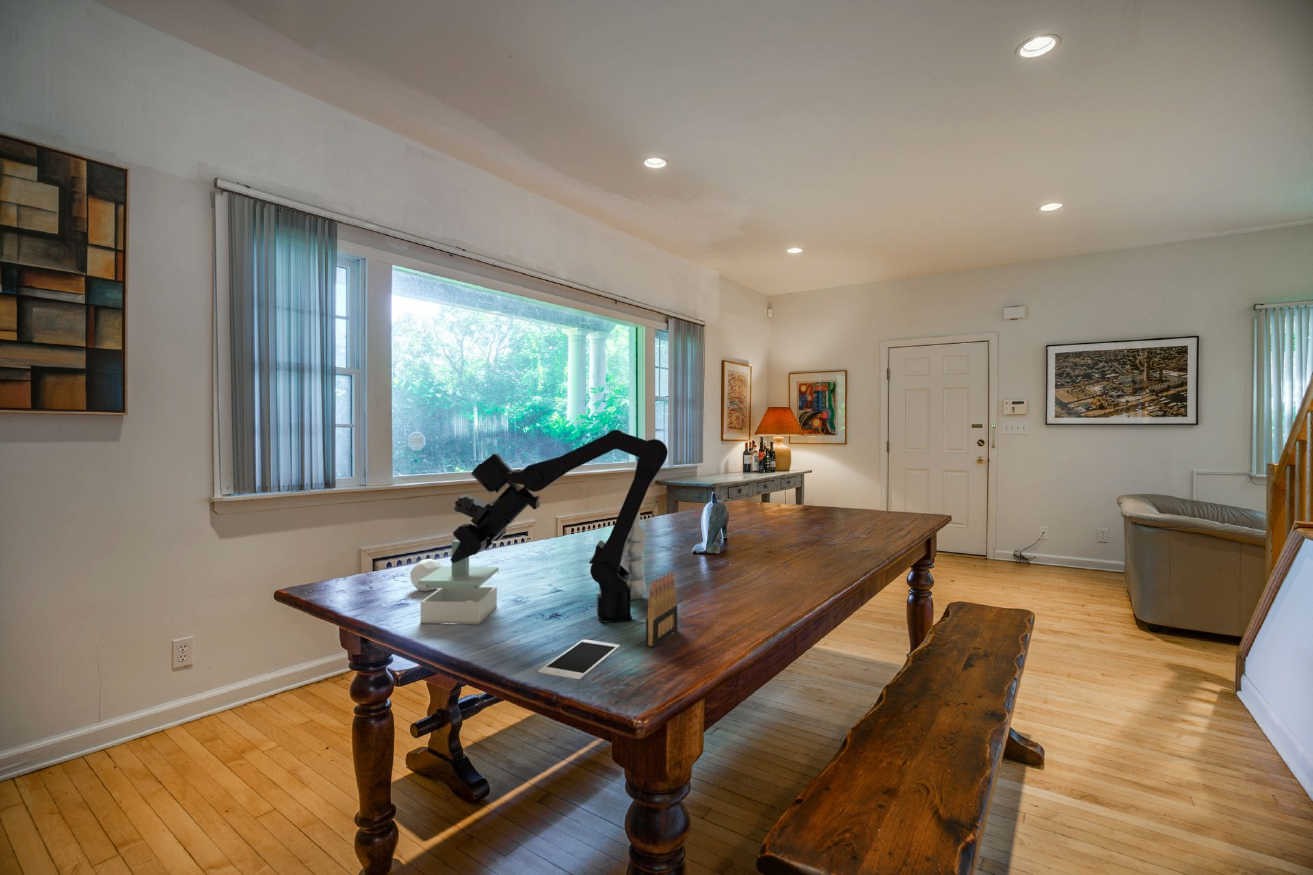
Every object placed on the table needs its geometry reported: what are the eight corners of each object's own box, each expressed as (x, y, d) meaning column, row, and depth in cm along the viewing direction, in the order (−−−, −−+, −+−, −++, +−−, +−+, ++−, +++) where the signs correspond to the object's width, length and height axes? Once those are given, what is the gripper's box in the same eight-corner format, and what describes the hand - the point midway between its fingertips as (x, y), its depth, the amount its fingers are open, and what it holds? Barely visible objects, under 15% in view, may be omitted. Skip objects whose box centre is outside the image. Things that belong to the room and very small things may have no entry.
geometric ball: (435, 599, 146) (456, 572, 147) (417, 596, 139) (439, 568, 140) (416, 581, 149) (437, 555, 150) (397, 577, 141) (418, 549, 143)
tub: (496, 607, 131) (496, 586, 131) (479, 624, 119) (479, 602, 119) (443, 606, 131) (443, 586, 131) (420, 623, 119) (420, 601, 119)
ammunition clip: (654, 648, 107) (654, 582, 107) (645, 646, 108) (645, 581, 108) (677, 630, 117) (678, 570, 116) (669, 629, 117) (669, 569, 117)
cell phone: (536, 675, 96) (536, 671, 96) (583, 642, 111) (583, 638, 111) (579, 682, 93) (579, 678, 93) (620, 648, 108) (621, 644, 108)
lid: (498, 575, 131) (498, 535, 131) (480, 590, 119) (480, 546, 118) (442, 574, 131) (442, 535, 131) (418, 589, 119) (418, 546, 119)
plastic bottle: (642, 603, 134) (643, 516, 134) (614, 601, 136) (614, 515, 136) (648, 595, 141) (649, 512, 141) (621, 594, 142) (622, 511, 142)
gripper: (492, 478, 134) (444, 526, 134) (463, 485, 115) (407, 541, 116) (526, 513, 134) (478, 561, 134) (503, 526, 115) (447, 581, 116)
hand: (453, 560), depth 125 cm, fingers closed on lid
